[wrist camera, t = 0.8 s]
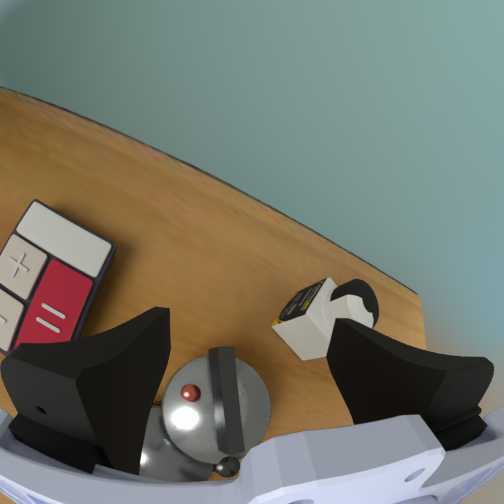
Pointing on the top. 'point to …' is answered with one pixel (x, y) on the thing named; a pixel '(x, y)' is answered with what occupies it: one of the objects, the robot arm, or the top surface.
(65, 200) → the top surface
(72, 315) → the calculator
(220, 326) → the top surface
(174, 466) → the pot
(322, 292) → the medicine bottle
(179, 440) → the lid
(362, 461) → the robot arm
